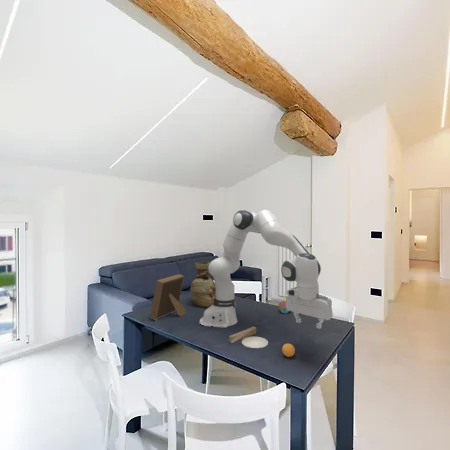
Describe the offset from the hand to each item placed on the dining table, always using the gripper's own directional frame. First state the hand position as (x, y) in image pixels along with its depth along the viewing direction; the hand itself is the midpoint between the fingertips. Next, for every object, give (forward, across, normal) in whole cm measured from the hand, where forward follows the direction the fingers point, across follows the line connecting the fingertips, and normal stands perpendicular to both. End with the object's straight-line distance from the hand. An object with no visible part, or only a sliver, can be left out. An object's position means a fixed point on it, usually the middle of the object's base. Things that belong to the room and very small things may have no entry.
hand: (308, 325), depth 121 cm
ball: (+13, +10, +1) cm, 17 cm away
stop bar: (+16, +38, 0) cm, 41 cm away
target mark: (+16, +30, 0) cm, 34 cm away
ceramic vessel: (+16, +97, -22) cm, 101 cm away
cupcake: (+17, +45, -48) cm, 68 cm away
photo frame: (+15, +92, +9) cm, 94 cm away
